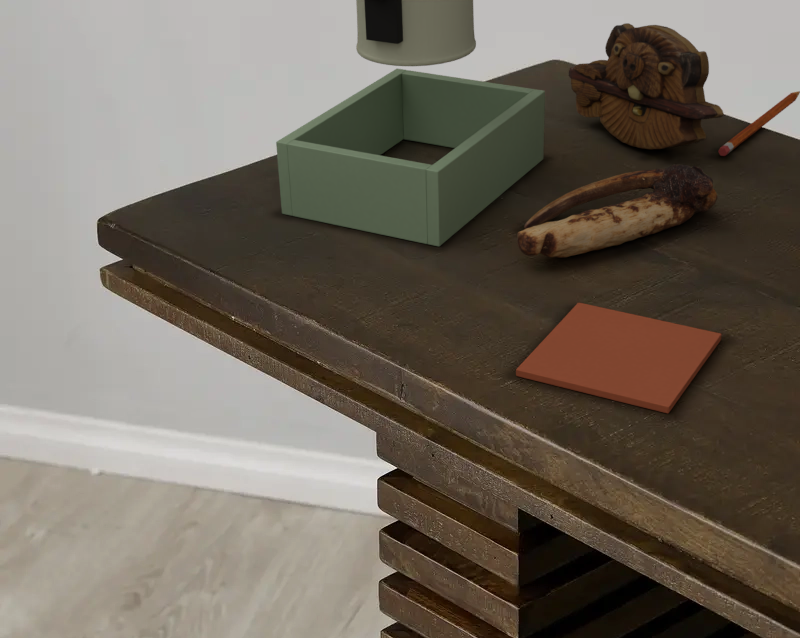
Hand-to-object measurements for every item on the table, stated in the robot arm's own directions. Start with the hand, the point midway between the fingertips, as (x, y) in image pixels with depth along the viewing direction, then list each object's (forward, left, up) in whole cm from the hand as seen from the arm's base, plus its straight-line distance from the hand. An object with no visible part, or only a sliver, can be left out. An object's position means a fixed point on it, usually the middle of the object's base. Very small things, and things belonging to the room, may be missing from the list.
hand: (415, 22), depth 106 cm
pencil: (-21, -25, -14) cm, 35 cm away
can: (0, 0, -2) cm, 2 cm away
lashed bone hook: (-17, +2, -14) cm, 22 cm away
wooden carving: (-13, -16, -14) cm, 25 cm away
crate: (0, 0, -13) cm, 13 cm away
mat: (-25, +19, -13) cm, 34 cm away
